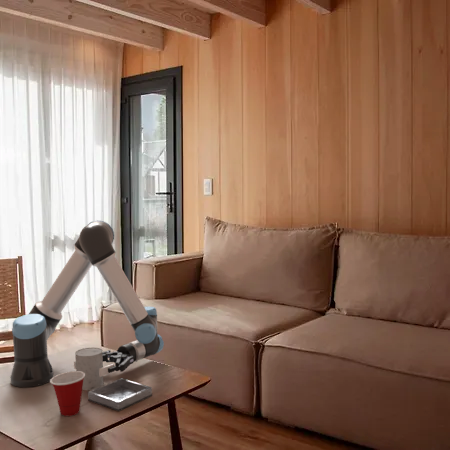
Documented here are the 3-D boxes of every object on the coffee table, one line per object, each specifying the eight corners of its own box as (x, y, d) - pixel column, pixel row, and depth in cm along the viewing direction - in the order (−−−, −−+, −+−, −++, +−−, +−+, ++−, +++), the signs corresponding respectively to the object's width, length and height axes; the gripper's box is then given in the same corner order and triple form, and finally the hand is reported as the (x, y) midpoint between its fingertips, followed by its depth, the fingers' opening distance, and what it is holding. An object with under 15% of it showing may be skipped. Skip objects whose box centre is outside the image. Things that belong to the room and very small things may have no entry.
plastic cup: (56, 405, 187) (55, 370, 186) (90, 404, 187) (88, 369, 186) (47, 420, 176) (45, 383, 175) (82, 419, 177) (80, 381, 175)
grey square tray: (88, 400, 191) (87, 391, 191) (121, 386, 203) (121, 378, 202) (118, 411, 182) (118, 402, 181) (152, 395, 194) (151, 387, 193)
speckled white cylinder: (97, 390, 199) (95, 356, 198) (72, 389, 201) (70, 355, 200) (108, 380, 208) (106, 348, 207) (83, 379, 210) (82, 347, 209)
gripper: (154, 368, 212) (111, 386, 196) (109, 356, 227) (65, 372, 211) (153, 349, 212) (110, 365, 195) (108, 338, 227) (64, 352, 210)
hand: (86, 369), depth 203 cm, fingers open, 13 cm apart
